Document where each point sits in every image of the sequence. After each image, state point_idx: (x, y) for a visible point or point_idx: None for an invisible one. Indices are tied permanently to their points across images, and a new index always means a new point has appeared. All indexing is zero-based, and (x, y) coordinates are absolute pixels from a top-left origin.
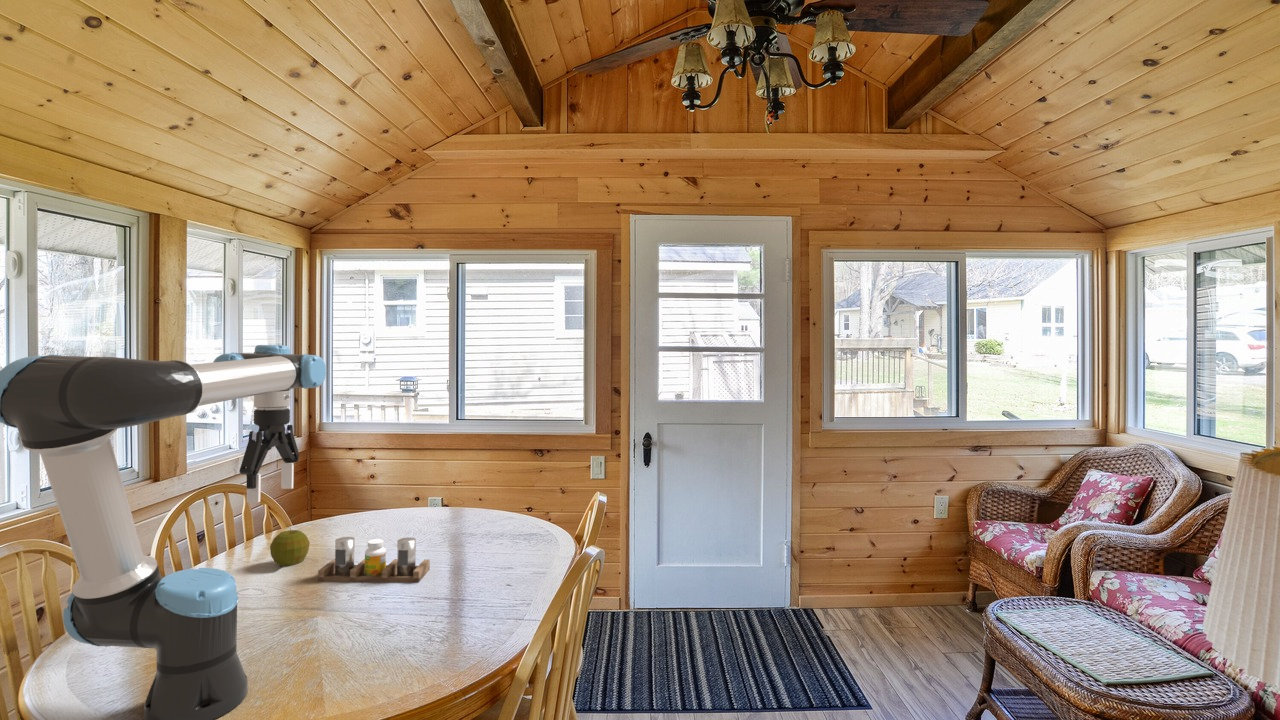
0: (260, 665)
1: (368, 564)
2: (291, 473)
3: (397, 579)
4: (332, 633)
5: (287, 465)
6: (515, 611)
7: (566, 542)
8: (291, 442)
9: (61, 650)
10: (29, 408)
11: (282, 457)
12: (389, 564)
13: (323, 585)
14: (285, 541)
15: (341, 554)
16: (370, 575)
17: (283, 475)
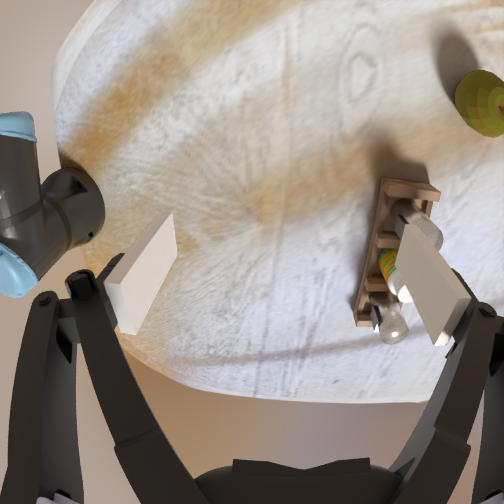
0: (134, 220)
1: (386, 266)
2: (417, 306)
3: (361, 295)
4: (212, 262)
5: (438, 319)
6: (270, 390)
7: None
8: (484, 441)
9: None
10: None
11: (466, 333)
12: None
13: (379, 186)
14: (479, 103)
15: (400, 234)
16: (379, 259)
17: (426, 266)
